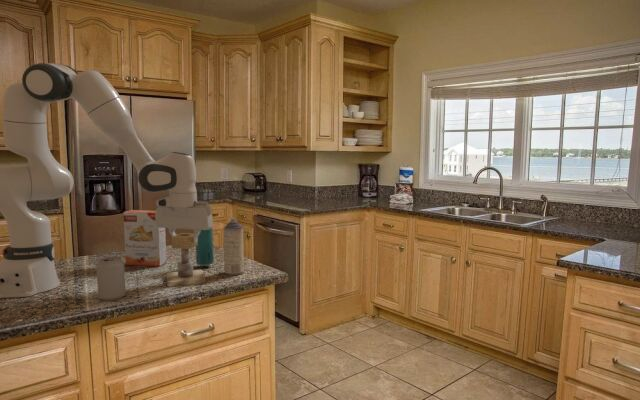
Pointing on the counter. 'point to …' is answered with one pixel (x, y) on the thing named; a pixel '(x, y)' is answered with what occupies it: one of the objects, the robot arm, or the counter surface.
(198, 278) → the shaft stand
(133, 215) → the cracker box
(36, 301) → the counter surface
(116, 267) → the can
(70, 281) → the counter surface
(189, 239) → the collar
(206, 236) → the beverage bottle
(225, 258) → the aerosol can
